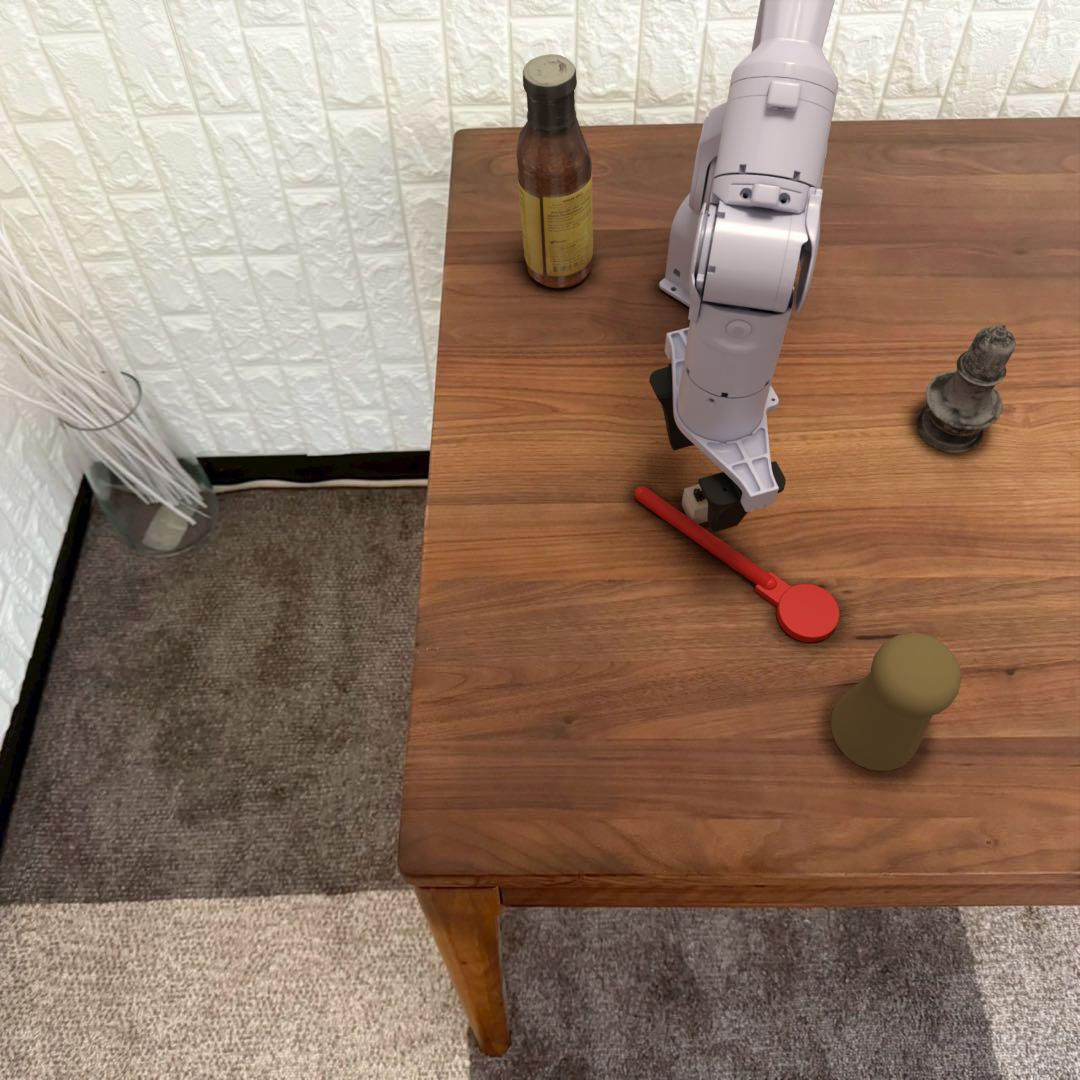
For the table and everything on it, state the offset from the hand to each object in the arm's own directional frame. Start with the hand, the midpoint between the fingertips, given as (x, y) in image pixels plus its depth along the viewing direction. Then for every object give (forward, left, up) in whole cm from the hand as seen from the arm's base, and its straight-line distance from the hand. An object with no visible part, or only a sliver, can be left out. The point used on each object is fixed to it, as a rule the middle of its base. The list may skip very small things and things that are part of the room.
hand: (703, 483), depth 76 cm
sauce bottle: (-26, +12, -4) cm, 29 cm away
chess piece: (+10, +20, -4) cm, 23 cm away
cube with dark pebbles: (0, 0, -4) cm, 4 cm away
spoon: (+5, -2, -4) cm, 7 cm away
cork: (+20, -6, -4) cm, 21 cm away
